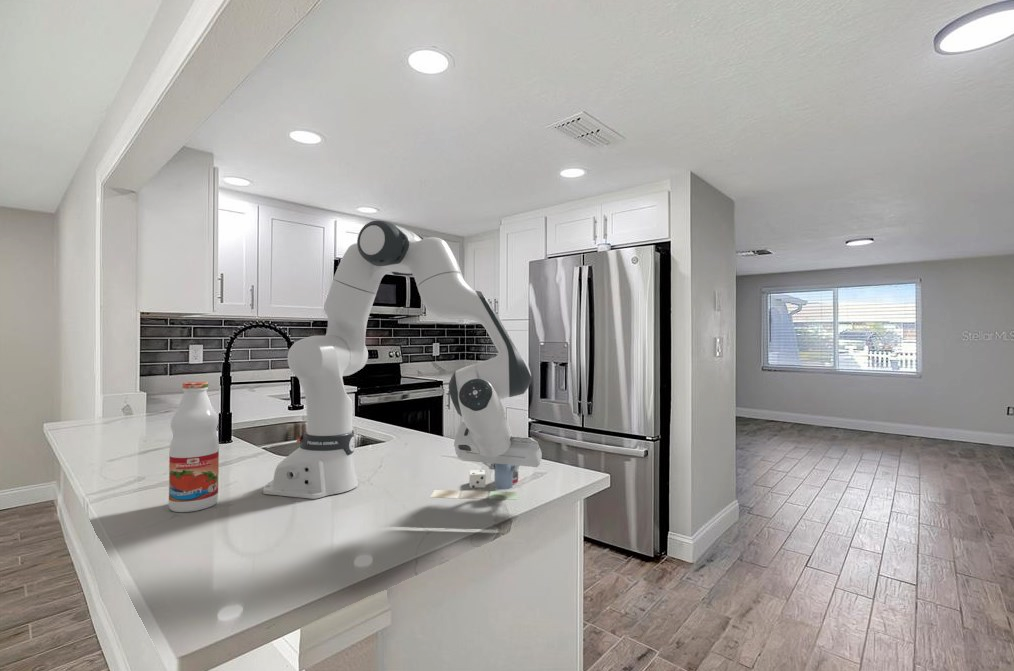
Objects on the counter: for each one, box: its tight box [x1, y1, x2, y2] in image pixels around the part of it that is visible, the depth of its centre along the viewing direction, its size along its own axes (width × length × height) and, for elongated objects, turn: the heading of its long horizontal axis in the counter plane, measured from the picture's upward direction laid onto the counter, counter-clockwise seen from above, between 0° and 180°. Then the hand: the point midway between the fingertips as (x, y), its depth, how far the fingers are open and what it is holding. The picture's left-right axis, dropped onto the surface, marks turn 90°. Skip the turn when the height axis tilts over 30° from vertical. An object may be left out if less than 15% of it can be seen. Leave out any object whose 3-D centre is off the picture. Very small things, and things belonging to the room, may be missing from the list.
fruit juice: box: [168, 381, 220, 513], centre depth 108 cm, size 9×9×28 cm
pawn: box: [494, 463, 514, 490], centre depth 115 cm, size 4×4×8 cm
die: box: [468, 469, 487, 489], centre depth 123 cm, size 4×4×4 cm
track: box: [430, 489, 518, 500], centre depth 116 cm, size 22×6×1 cm, turn 88°
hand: (504, 468), depth 116 cm, fingers closed on pawn, 4 cm apart
